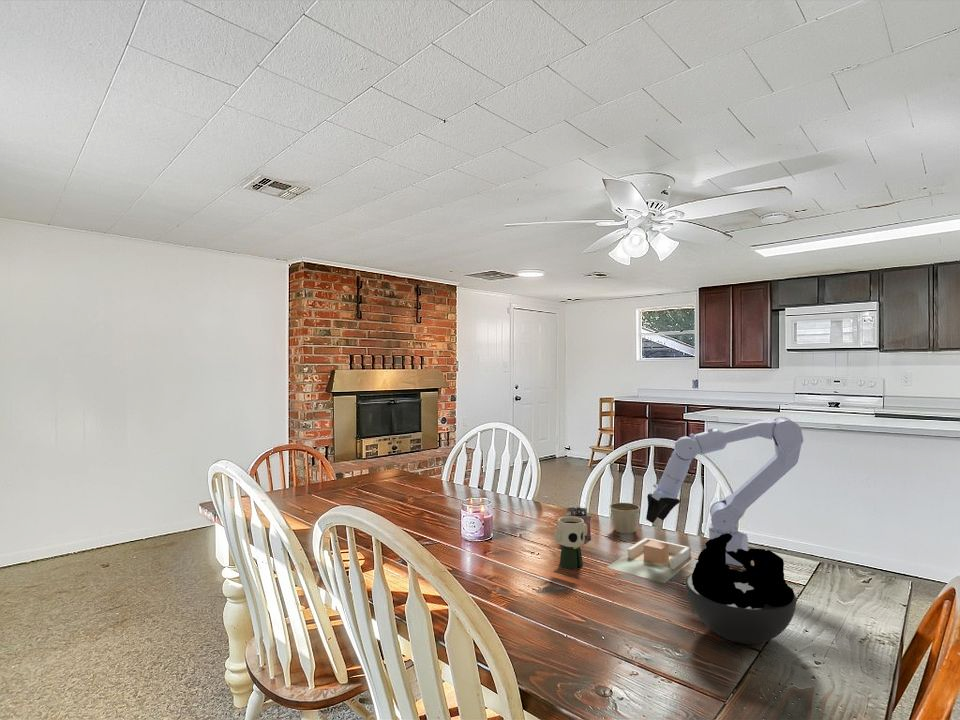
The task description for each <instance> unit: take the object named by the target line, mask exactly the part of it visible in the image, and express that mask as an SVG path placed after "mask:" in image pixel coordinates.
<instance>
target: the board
mask: <svg viewBox="0 0 960 720" xmlns="http://www.w3.org/2000/svg"><path fill="white" fill-rule="evenodd" d="M675 555H676V554H673V553H669V559H668V560H666V561H665V562H664V563H662V564H660V563H656V562H652V561H648V560H644V551H642V552H641V553H639V554H638V555H636V556H634V557H633V558H628V553H626V554H625V555H622V556H621V557H619V558H618V559H616V560H615V561H613V562H612V563H610V564H609V565H607V566H605V568H606V569H611V570H613V571H617V572H621V573H625V574H629V575H632V576H636V577H640V578H643V579H646V580H652V581H656V582H660V583H663V584H665V583H667V582H668V581H669V580H671V579H672V578H673V577H674V576H676V574H678V573H679V572H681V571H682V570H683V569H684V568H685V567H687V566H688V565H689V564H691V563H692V562H693V561H694V560H695V559H696V558H697V557H696V556H692V555H691V556H690V557H689V558H688V559H687V560H685V561H684V562H683V563H681V564H680V565H679V566H678V567H676V568H675V569H671V568H670V559H671V558H672V557H673V556H675Z"/></svg>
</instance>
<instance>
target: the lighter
mask: <svg viewBox="0 0 960 720" xmlns="http://www.w3.org/2000/svg"><path fill="white" fill-rule="evenodd" d="M566 512H568V513H564V517H578V518H581V519H583V520H584V524H586V525H587V535H586V536H585V541H591V540H592V535H591V518H592V515H591V514H589V513H587V512H588V508H587V507H581V506H579V505H578V506H576V507H575V506H567V507H566ZM569 512H570V513H569Z"/></svg>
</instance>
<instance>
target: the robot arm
mask: <svg viewBox="0 0 960 720" xmlns="http://www.w3.org/2000/svg"><path fill="white" fill-rule="evenodd" d="M756 437H761V438H764V439H768V440H773V442H774V452H775V455H774V456H772V457H771V458H770V459H769V460H768V461H767V462H766V463H765V464H764V465H762V467H760V468H759V469H758V470H757V471H756V472H755V473H753V475H751V476H750V477H749V478H748V479H747V480H746V481H745V482H743V483H742V485H740V487H739V488H737V489H736V490H735V491H734V492H733V493H731V494H729V495H727V496H726V497H724V498H723V499H722V500H719V501H715V502H713V503H712V505H711V506H710V508H709V514H710V517H711V519H710V520H711V523H710V524H709V525H708V540H709V539H714V538H716V537H719V536H720V535H722V534H726V533H728V534H731V535H732V536H733V537H732V539H731V540H730V541H729V542H728V543H727V546H726V551H734V552H737V549H743V550H745V551H748V550H749V538H748V535H747V533H744V532H741V531H739V530H738V527H737V525H738V522H739V520H740V519H741V518H743V516H744V514H745V513H746V511H747V510H748V508H749V507H750V506H751V505H753V504H754V503H755V502H756V501H757V500H759V498H761V496H763V495H764V494H765V493H766V492H768V490H769V489H771V488H772V487H773V486H774V485H775V484H776V483H777V482H778V481H779V480H781V479H782V478H783V477H784V476H785V475H786V474H787V473H788V472H790V471H791V470H792V469H794V467H795V466H796V465H797V464H798V462H799V459H800V452H801V449H802V445H803V443H804V437H803V432H802V428H801V427H800V425H799V424H798V423H796V422H795V421H793V420H791V419H790V418H789V417H785V416H780V417H776V418H774V419H773V418H769V419H768V418H766V419H763V420H758V421H754V422H751V423H749V424H745V425H741V426H739V427H736V428H733V429H728V430H726V431H723V430H720V429H718V428H715V429H713V427H710V428H707V429H706V431H703V432H699V433H696V434H695V433H694V432H693V433H690V434H689V436H686V435H684V436H682V437H679V438H678V439H677V440H676V441H675V442H674V450H673V451H672V453H671V454H670V455H671V456H670V457H669V459H668V461H667V464H666V466H665V468H664V471H663V473H662V476H661V477H660V480H659V482H658V484H657V483H654V484H653V486H652V487H653V488H655V490H654V491H653V493H650V492H649V493H647V511H646V515H645V519H646V521H648V522H650V523H652V524H654V523H655V521H656V520H657V519H660V520H661V521H664V520H665V519H667V516H669V514H670V512H672V510H673V509H674V508H675V507H676V506H677V505H679V504H680V503H681V499H679V498H678V497H679V495H680V491H681V488H682V485H683V483H684V481H685V478H686V477H687V475H688V472H689V469H690V465H691V463H692V460H693V459H695V458H696V457H697V455H705V454H706V455H707V454H710V453H713V452H717V451H721V450H724V449H725V448H726V446H727V445H728V444H730V443H733V442H738V441H743V440H748V439H752V438H756ZM725 564H727V565H734V566H739V567H743V566H744V565H742V564H741V563H739V562H738V561H736V560H735V559H733V558H732V557H731V556H730V555H729V554H727V553H726V563H725Z"/></svg>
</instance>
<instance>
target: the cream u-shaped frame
mask: <svg viewBox="0 0 960 720" xmlns="http://www.w3.org/2000/svg"><path fill="white" fill-rule="evenodd" d="M651 540H652V541H657V542H661V543H666V544H669V553H673V554H676V555H675V556H673V557H672V558H671V559H670V568H671V569H675V568H676V567H678V566H679V565H680V564H681V563H683V562H684V561H685V560H687V559H688V558H689V557H690V556H692V548H691V547H690V546H688V545H682V544H677V543H672V542H667V541H663V540H660V539H654V538H649V537H645V538H643V539H641V540H640V541H638V542H636V543H635V544H634V545H633V544H632V545H631V546H630V547H628V548H627V554H628V558H633V557H634V556H636V555H638V554H639V553H641V552H642V551H644V544H646V543H648V542H649V541H651Z"/></svg>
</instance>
